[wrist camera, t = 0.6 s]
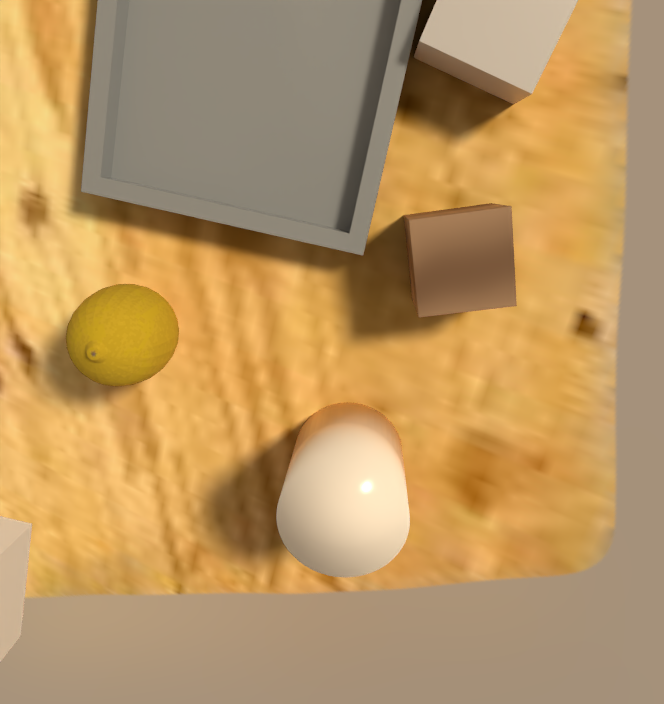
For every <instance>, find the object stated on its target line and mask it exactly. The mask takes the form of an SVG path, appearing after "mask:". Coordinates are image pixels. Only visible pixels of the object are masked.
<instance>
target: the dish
mask: <svg viewBox="0 0 664 704" xmlns="http://www.w3.org/2000/svg"><path fill="white" fill-rule="evenodd" d="M421 3H422V0H98V3H97V14H96V26H95V37H94V49H93V60H92V71H91V83H90V94H89V106H88V117H87V129H86V140H85V151H84V163H83V174H82V186H81V192H85V193H89V194H94V195H98V196H103V197H107V198H111V199H116V200H120V201H125V202H129V203H133V204H138V205H142V206H147V207H151V208H155V209H160V210H164V211H169V212H173V213H178V214H182V215H186V216H191V217H195V218H200V219H204V220H208V221H213V222H217V223H222V224H226V225H231V226H235V227H239V228H244V229H248V230H253V231H257V232H261V233H266V234H270V235H275V236H279V237H284V238H288V239H292V240H297V241H301V242H306V243H310V244H314V245H319V246H323V247H328V248H332V249H336V250H341V251H345V252H350V253H354V254H359V255H363V254H364V250H365V246H366V241H367V237H368V233H369V228H370V224H371V220H372V215H373V211H374V207H375V202H376V198H377V194H378V189H379V185H380V181H381V176H382V172H383V168H384V163H385V159H386V155H387V150H388V146H389V142H390V137H391V133H392V129H393V124H394V120H395V116H396V111H397V107H398V103H399V98H400V94H401V90H402V85H403V81H404V77H405V72H406V68H407V64H408V59H409V55H410V51H411V46H412V42H413V38H414V33H415V29H416V25H417V20H418V16H419V12H420V7H421Z"/></svg>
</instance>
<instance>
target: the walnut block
mask: <svg viewBox="0 0 664 704" xmlns="http://www.w3.org/2000/svg"><path fill="white" fill-rule="evenodd" d="M404 223H405V233H406V243H407V253H408V263H409V273H410V283H411V293H412V301H413V303H414V306H415V309H416V311H417V314H418V317H427V316H436V315H444V314H452V313H461V312H469V311H478V310H486V309H495V308H503V307H511V306H517V305H516V286H515V267H514V247H513V228H512V209H511V206H505V205H498V204H492V203H491V204H483V205H476V206H469V207H461V208H454V209H447V210H439V211H432V212H425V213H417V214H410V215H404Z"/></svg>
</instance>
